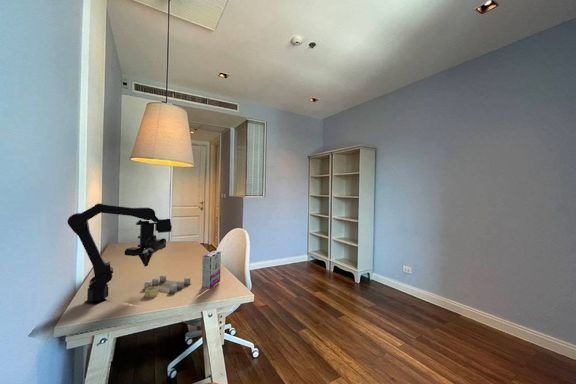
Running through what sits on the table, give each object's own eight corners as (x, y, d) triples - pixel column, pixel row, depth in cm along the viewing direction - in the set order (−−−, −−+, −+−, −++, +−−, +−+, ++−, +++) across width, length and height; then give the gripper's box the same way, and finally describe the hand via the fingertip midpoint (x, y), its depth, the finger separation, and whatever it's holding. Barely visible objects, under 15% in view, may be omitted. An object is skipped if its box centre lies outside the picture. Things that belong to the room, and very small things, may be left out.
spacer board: (162, 302, 102) (162, 293, 102) (129, 296, 106) (129, 288, 106) (192, 285, 121) (192, 277, 121) (163, 281, 125) (163, 274, 125)
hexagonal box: (152, 298, 103) (152, 291, 103) (141, 296, 105) (141, 290, 105) (161, 293, 108) (161, 287, 108) (150, 292, 110) (151, 285, 110)
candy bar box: (212, 280, 129) (212, 250, 129) (220, 281, 128) (221, 251, 128) (201, 288, 118) (202, 255, 118) (210, 289, 117) (211, 256, 117)
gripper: (144, 238, 102) (143, 274, 102) (175, 231, 120) (174, 262, 120) (124, 236, 104) (122, 271, 104) (157, 230, 123) (156, 260, 122)
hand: (146, 266), depth 113 cm, fingers closed
